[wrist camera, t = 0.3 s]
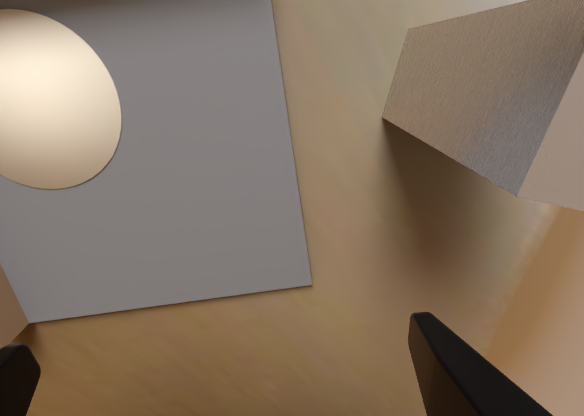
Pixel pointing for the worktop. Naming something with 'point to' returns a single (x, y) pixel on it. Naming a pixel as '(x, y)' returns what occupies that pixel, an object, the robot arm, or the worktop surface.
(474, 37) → the aluminium post
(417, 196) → the worktop surface
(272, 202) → the corner arena
